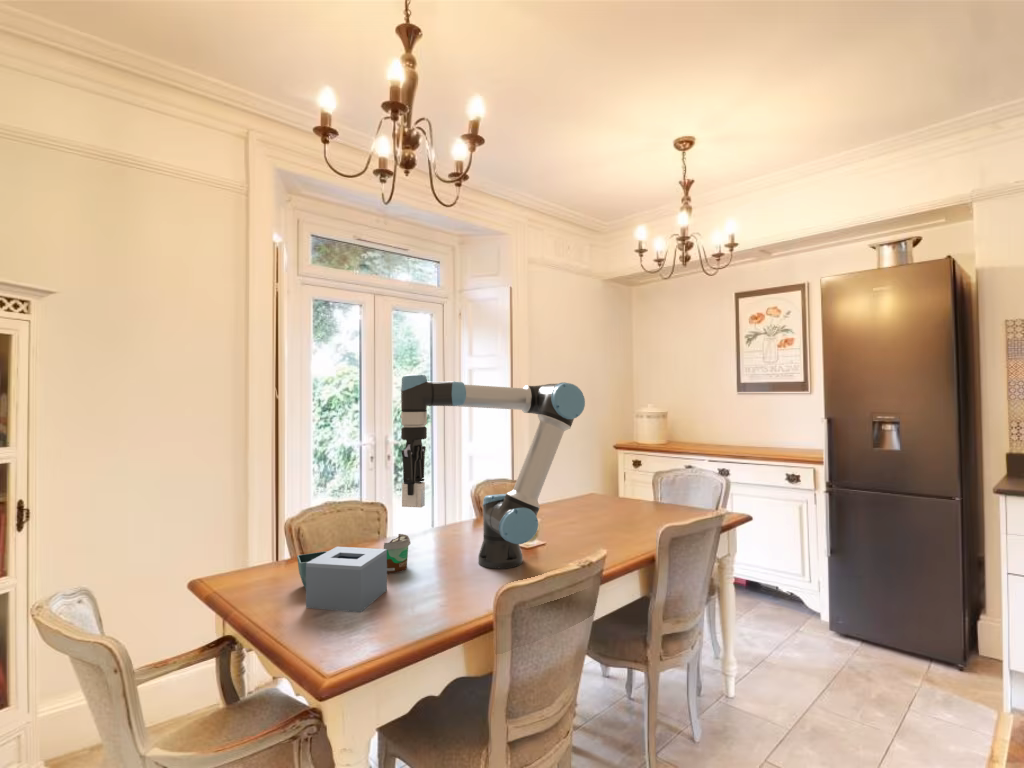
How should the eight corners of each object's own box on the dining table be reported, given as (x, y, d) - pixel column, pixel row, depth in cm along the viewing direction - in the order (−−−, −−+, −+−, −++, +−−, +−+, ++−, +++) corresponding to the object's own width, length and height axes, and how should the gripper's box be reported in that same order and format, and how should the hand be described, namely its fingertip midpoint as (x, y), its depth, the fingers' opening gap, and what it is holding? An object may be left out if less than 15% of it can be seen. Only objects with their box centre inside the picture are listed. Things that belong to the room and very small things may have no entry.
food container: (401, 575, 167) (401, 544, 168) (383, 574, 169) (383, 543, 169) (416, 563, 180) (416, 534, 180) (399, 562, 181) (399, 533, 181)
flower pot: (299, 594, 152) (299, 562, 153) (296, 584, 160) (296, 554, 160) (331, 588, 156) (331, 558, 157) (327, 579, 164) (327, 550, 164)
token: (424, 505, 159) (424, 482, 159) (420, 507, 156) (421, 483, 156) (405, 504, 160) (406, 481, 160) (401, 506, 157) (402, 483, 157)
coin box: (386, 590, 155) (386, 549, 155) (360, 612, 139) (360, 566, 139) (337, 586, 158) (337, 546, 158) (306, 607, 142) (306, 562, 142)
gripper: (412, 424, 167) (412, 499, 166) (391, 427, 151) (391, 509, 151) (435, 424, 166) (435, 499, 165) (415, 427, 150) (415, 510, 149)
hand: (414, 504), depth 158 cm, fingers closed on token, 3 cm apart
